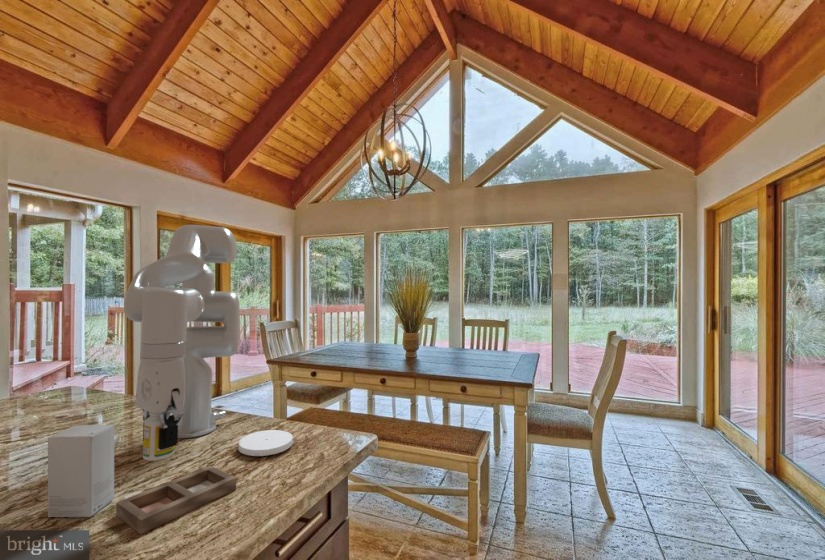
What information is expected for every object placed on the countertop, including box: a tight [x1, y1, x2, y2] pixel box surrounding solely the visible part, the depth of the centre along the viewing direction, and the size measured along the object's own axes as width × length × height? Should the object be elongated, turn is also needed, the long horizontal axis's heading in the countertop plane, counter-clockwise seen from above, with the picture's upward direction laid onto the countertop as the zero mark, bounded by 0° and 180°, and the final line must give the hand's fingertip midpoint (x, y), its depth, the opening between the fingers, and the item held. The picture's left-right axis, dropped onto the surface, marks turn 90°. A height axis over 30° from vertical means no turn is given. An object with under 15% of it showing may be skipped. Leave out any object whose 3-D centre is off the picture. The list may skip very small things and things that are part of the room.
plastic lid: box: [238, 429, 294, 457], centre depth 106 cm, size 14×14×2 cm
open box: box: [115, 465, 237, 535], centre depth 78 cm, size 18×10×2 cm, turn 148°
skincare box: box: [47, 424, 115, 518], centre depth 75 cm, size 8×7×16 cm
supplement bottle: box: [142, 406, 176, 461], centre depth 75 cm, size 5×5×10 cm
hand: (160, 442), depth 75 cm, fingers closed on supplement bottle, 5 cm apart
